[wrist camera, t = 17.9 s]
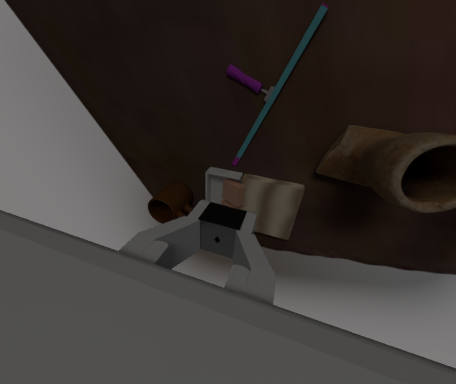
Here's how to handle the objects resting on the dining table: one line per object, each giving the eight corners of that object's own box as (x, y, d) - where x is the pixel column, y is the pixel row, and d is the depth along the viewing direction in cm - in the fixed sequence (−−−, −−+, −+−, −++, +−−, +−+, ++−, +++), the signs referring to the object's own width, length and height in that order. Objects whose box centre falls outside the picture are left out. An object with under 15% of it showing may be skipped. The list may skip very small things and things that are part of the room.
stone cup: (445, 127, 29) (559, 159, 16) (395, 191, 35) (449, 249, 23) (342, 105, 31) (373, 118, 19) (313, 168, 38) (322, 209, 25)
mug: (210, 192, 48) (194, 213, 41) (205, 214, 53) (189, 236, 45) (170, 176, 50) (146, 193, 42) (168, 198, 54) (146, 217, 46)
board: (304, 185, 40) (304, 190, 38) (288, 233, 47) (288, 240, 45) (245, 173, 43) (242, 177, 41) (239, 220, 50) (236, 226, 48)
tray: (243, 173, 43) (239, 178, 40) (237, 220, 50) (234, 227, 48) (210, 166, 45) (205, 171, 42) (209, 213, 52) (205, 219, 49)
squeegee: (267, -32, 26) (329, 6, 26) (268, -26, 27) (327, 10, 27) (197, 143, 42) (235, 167, 42) (201, 141, 44) (237, 164, 43)
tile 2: (241, 206, 44) (236, 209, 43) (239, 223, 46) (234, 226, 45) (227, 197, 47) (221, 200, 46) (226, 213, 49) (220, 216, 48)
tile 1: (245, 185, 41) (239, 188, 40) (242, 204, 43) (237, 207, 42) (229, 177, 44) (223, 179, 43) (228, 195, 46) (222, 198, 45)
